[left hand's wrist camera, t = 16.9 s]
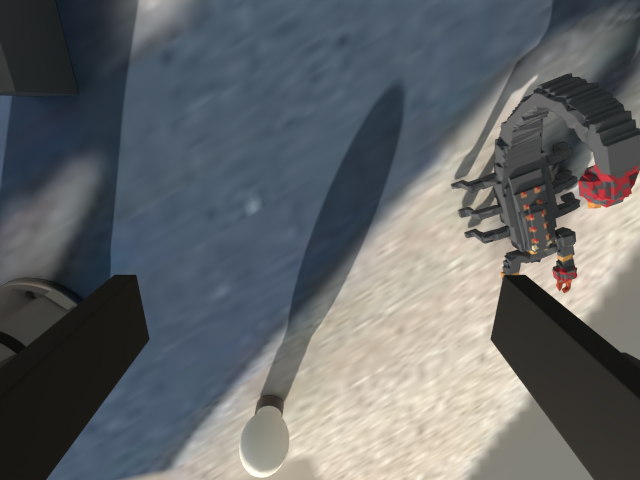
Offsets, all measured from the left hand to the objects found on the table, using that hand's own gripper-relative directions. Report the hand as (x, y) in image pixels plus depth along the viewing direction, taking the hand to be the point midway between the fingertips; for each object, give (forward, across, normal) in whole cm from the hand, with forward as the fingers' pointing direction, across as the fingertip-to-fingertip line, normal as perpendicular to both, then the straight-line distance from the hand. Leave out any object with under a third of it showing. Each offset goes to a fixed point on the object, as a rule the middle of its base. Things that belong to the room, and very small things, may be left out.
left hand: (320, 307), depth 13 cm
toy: (+31, -24, +4) cm, 39 cm away
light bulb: (+31, +8, +36) cm, 49 cm away
